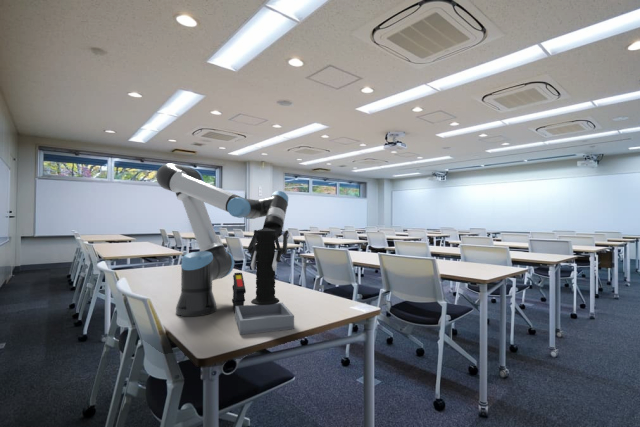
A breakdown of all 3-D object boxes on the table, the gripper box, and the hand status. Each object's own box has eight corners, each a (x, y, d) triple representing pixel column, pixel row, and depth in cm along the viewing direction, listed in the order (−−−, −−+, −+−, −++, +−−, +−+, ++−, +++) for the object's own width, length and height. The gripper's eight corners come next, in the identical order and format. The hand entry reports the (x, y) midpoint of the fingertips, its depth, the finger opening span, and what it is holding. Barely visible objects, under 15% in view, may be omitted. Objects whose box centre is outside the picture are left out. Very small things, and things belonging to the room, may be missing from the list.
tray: (239, 334, 103) (240, 320, 103) (235, 318, 120) (235, 306, 120) (293, 328, 109) (294, 315, 109) (282, 313, 126) (282, 302, 126)
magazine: (240, 300, 139) (242, 272, 133) (243, 322, 128) (246, 291, 122) (231, 301, 137) (233, 272, 132) (234, 323, 126) (236, 292, 120)
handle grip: (275, 305, 109) (282, 298, 119) (276, 228, 109) (282, 227, 119) (247, 304, 110) (256, 297, 120) (248, 228, 110) (256, 227, 120)
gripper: (299, 228, 129) (292, 275, 113) (252, 227, 131) (238, 273, 115) (297, 214, 124) (289, 262, 108) (248, 214, 126) (232, 261, 109)
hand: (263, 268), depth 111 cm, fingers closed on handle grip, 7 cm apart
